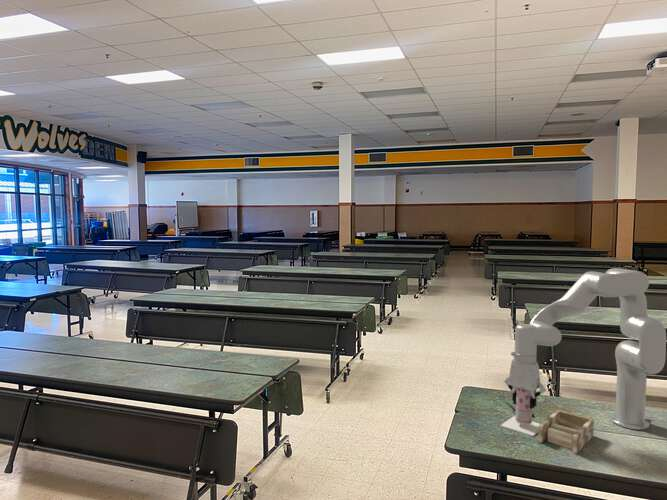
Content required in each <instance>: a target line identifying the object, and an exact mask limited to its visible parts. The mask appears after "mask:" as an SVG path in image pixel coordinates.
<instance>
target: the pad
mask: <svg viewBox="0 0 667 500" xmlns="http://www.w3.org/2000/svg"><path fill="white" fill-rule="evenodd" d="M540 424H541V422H540V423H539V422H536V421H533V420H532V423H531V424H529V425H523V424H519V423H518V422H517V421H516V415H513V416H512V417H511V418H508V420H505V422H503V423H502V424H500V427H501V428H505V429H507V430H510V431H513V432H517V433H520V434H523V435H525V436H526V435H527V436H529V437H532V438H533V437H535V436H537V435H538V425H540Z"/></svg>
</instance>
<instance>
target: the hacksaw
mask: <svg viewBox="0 0 667 500" xmlns="http://www.w3.org/2000/svg"><path fill="white" fill-rule="evenodd" d="M507 402H508V401H507ZM507 402H506V403H507ZM506 405H507V406H508V405H509V408H511V410H512V413H513V414H515V415H516V407H514V406H513V405H512V404H511V403H509V402H508V403H507V404H506ZM533 417H535V414H534V413H532V418H533Z"/></svg>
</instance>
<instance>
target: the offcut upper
mask: <svg viewBox="0 0 667 500" xmlns="http://www.w3.org/2000/svg"><path fill="white" fill-rule="evenodd" d="M577 431H578V430H575V429H571V428H568V427H564V426H561V425H557V424H553V425H551V426H550V427H549V428H548V436H550V437H554V438H557V439H560V440H563V441H567V442H570V443H573V435H574V434H575V433H576V432H577Z"/></svg>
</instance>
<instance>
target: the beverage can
mask: <svg viewBox="0 0 667 500" xmlns="http://www.w3.org/2000/svg"><path fill="white" fill-rule="evenodd" d="M531 397H532V396H531V393H530V391H528V390H525V389H523V387H520V388H516V404H515V409H516V412H515V413H516V414H515V416H516V421H517V422H518V423H519V424H523V425H529V424H531V423H532V421H533V417H532V414H533V409H531V408H530V398H531Z"/></svg>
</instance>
